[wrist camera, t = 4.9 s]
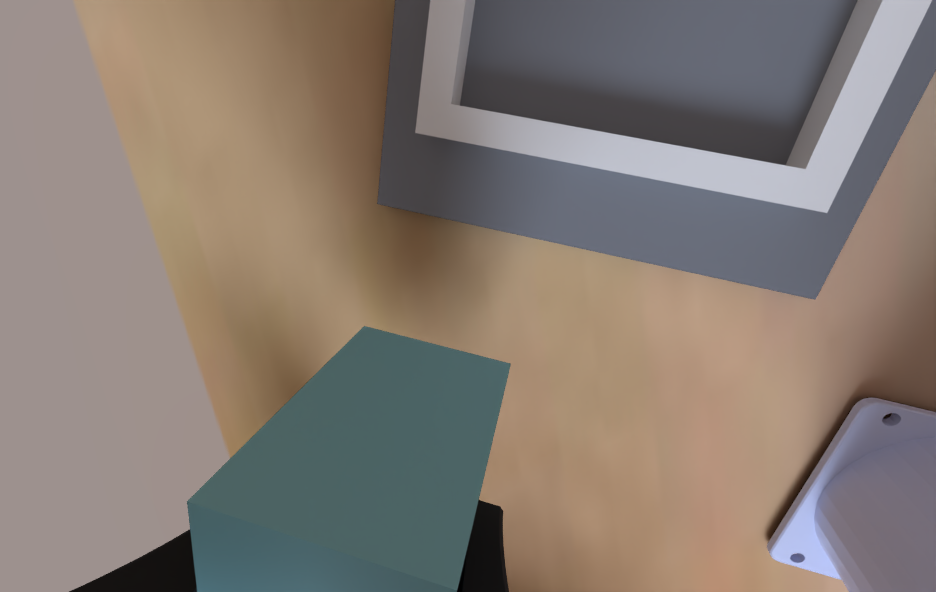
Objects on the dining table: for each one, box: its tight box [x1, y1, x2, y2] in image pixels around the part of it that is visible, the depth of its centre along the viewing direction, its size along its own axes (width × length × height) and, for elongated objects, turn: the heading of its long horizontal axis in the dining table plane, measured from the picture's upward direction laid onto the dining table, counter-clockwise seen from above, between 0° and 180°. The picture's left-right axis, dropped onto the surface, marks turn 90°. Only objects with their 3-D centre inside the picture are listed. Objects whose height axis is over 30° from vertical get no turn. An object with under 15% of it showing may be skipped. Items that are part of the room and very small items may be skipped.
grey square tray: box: [377, 0, 936, 299], centre depth 12 cm, size 15×14×2 cm
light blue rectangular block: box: [187, 326, 511, 592], centre depth 10 cm, size 4×8×6 cm, turn 171°
